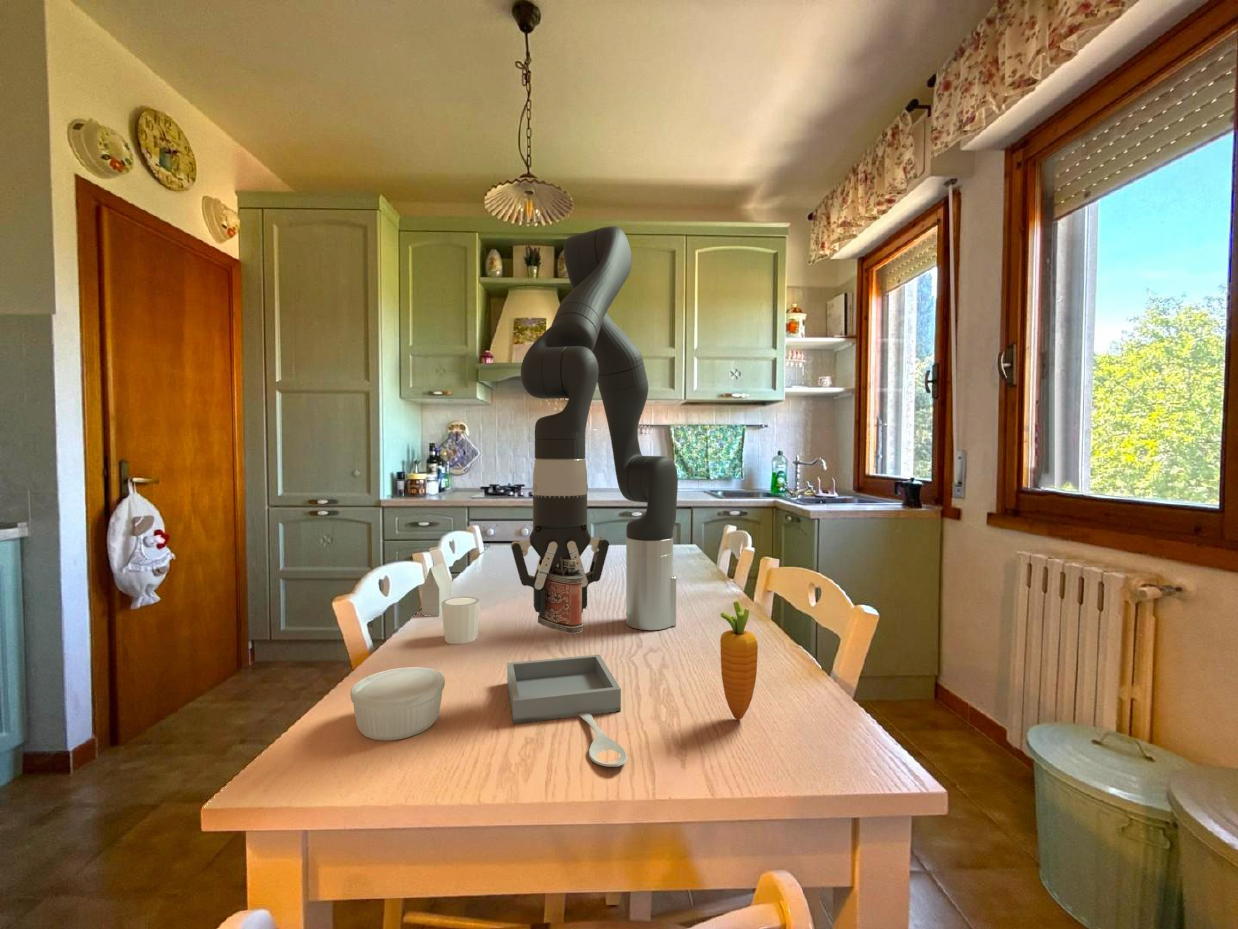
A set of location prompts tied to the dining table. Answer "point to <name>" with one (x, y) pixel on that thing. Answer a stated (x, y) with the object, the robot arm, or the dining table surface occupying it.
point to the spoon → (603, 744)
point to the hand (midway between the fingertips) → (560, 612)
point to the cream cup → (460, 619)
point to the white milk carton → (436, 590)
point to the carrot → (738, 662)
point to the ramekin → (397, 702)
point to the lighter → (563, 598)
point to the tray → (561, 688)
